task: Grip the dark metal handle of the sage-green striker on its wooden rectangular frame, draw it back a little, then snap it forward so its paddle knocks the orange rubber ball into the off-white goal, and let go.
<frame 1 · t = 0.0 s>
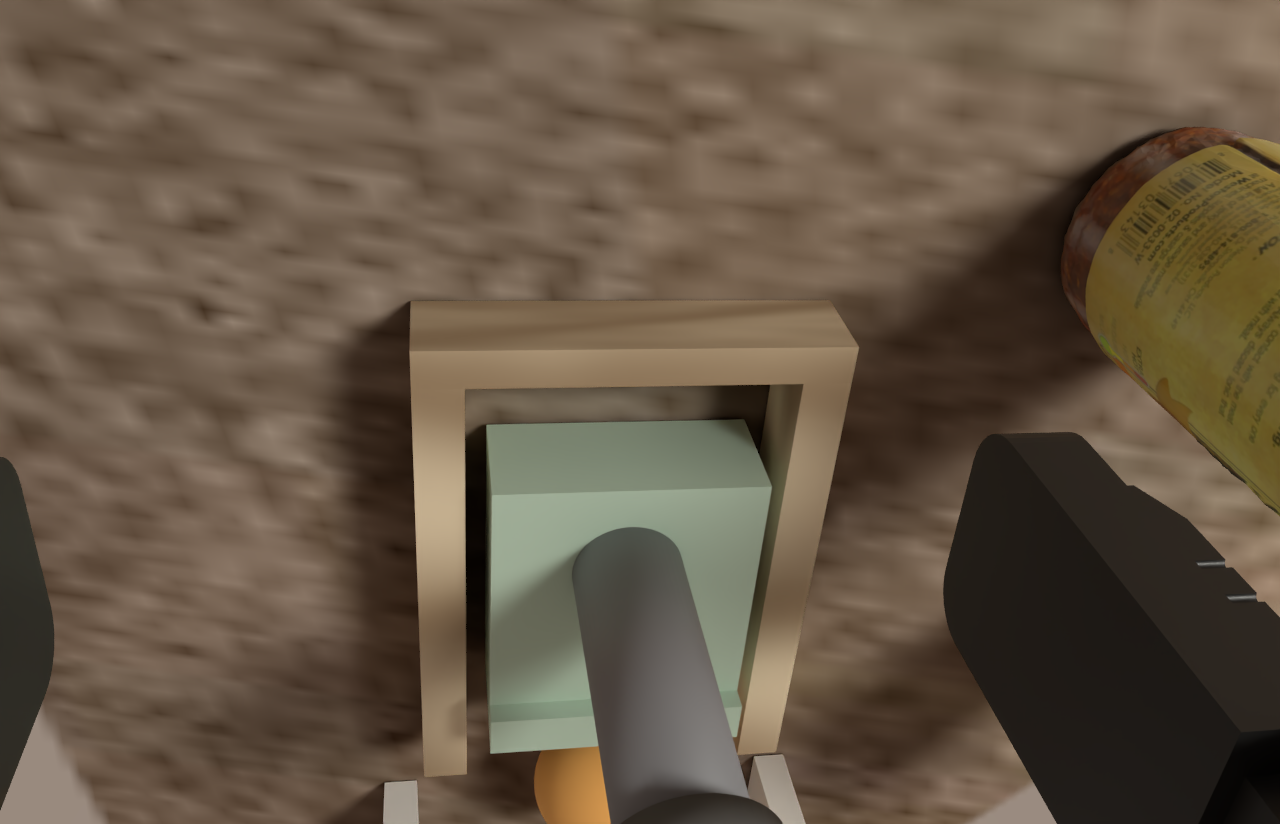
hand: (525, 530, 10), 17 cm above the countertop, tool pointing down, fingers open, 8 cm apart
wooden rectangular frame: (607, 539, 32), on the countertop
ball: (600, 780, 35), point 2 cm above the countertop
striker: (642, 715, 27), point 6 cm above the countertop, slide at 0.0 cm
sauce bottle: (1166, 226, 30), on the countertop
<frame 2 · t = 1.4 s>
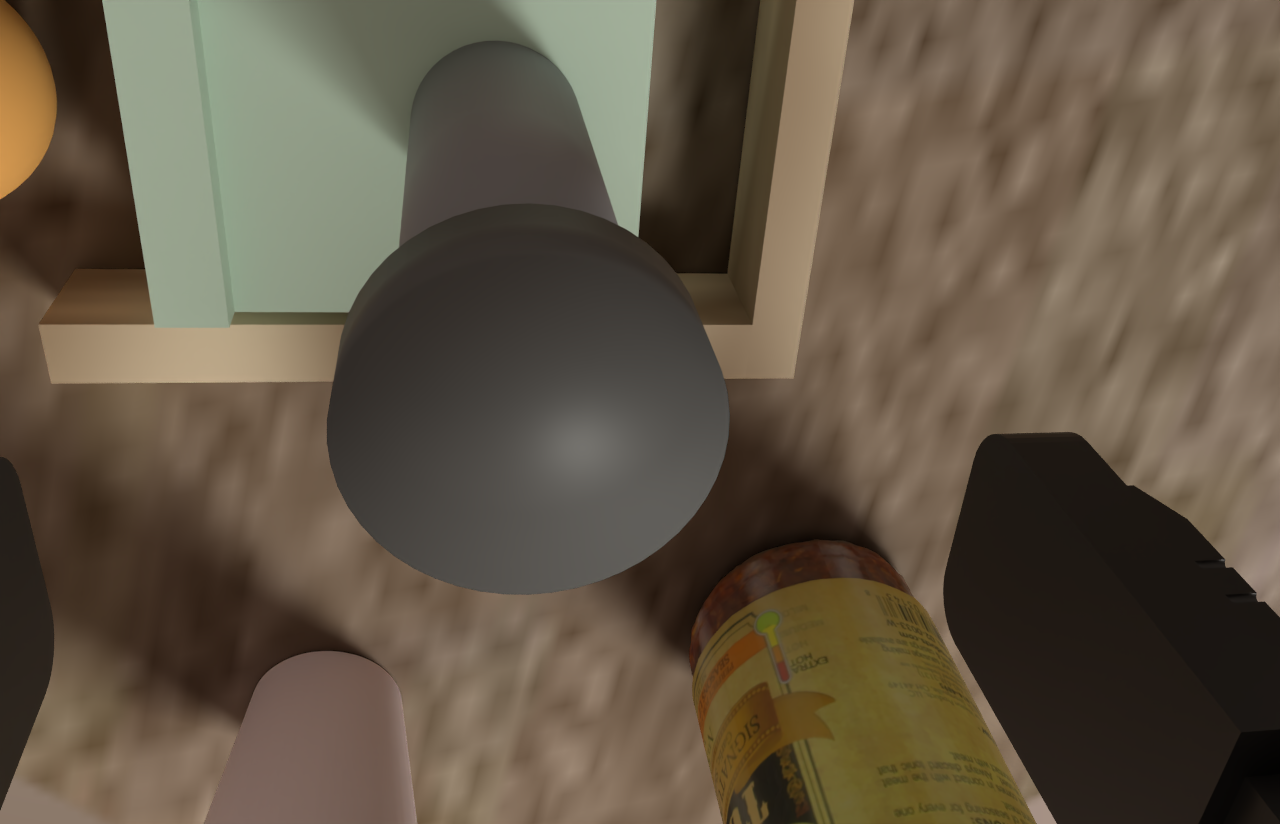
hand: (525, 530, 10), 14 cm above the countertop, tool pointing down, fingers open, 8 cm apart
wooden rectangular frame: (409, 73, 21), on the countertop
striker: (389, 197, 16), point 6 cm above the countertop, slide at 0.0 cm
sauce bottle: (795, 621, 30), on the countertop
smoothie: (328, 699, 29), on the countertop
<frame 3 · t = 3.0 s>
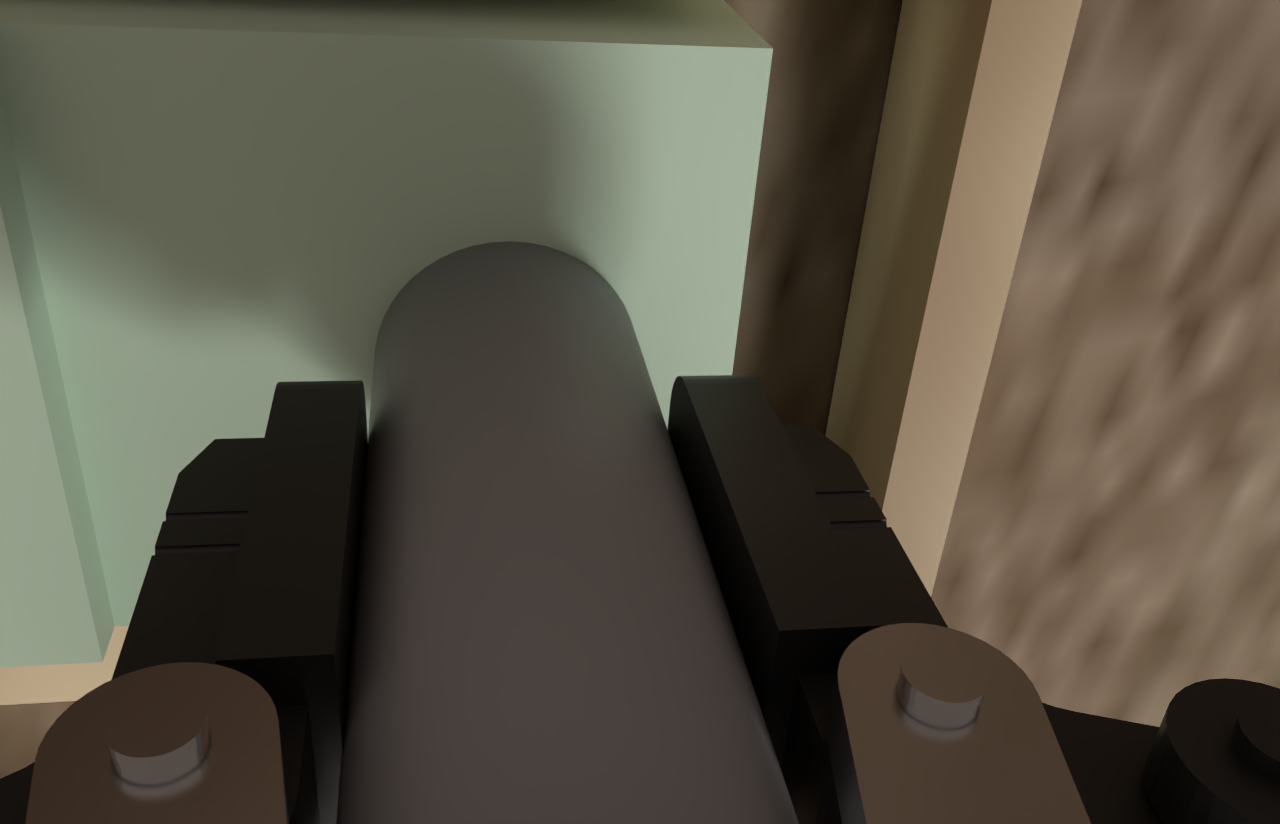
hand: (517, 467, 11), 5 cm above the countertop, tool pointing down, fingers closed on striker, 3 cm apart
wooden rectangular frame: (373, 248, 15), on the countertop
striker: (333, 559, 9), point 6 cm above the countertop, slide at 0.0 cm, touching gripper
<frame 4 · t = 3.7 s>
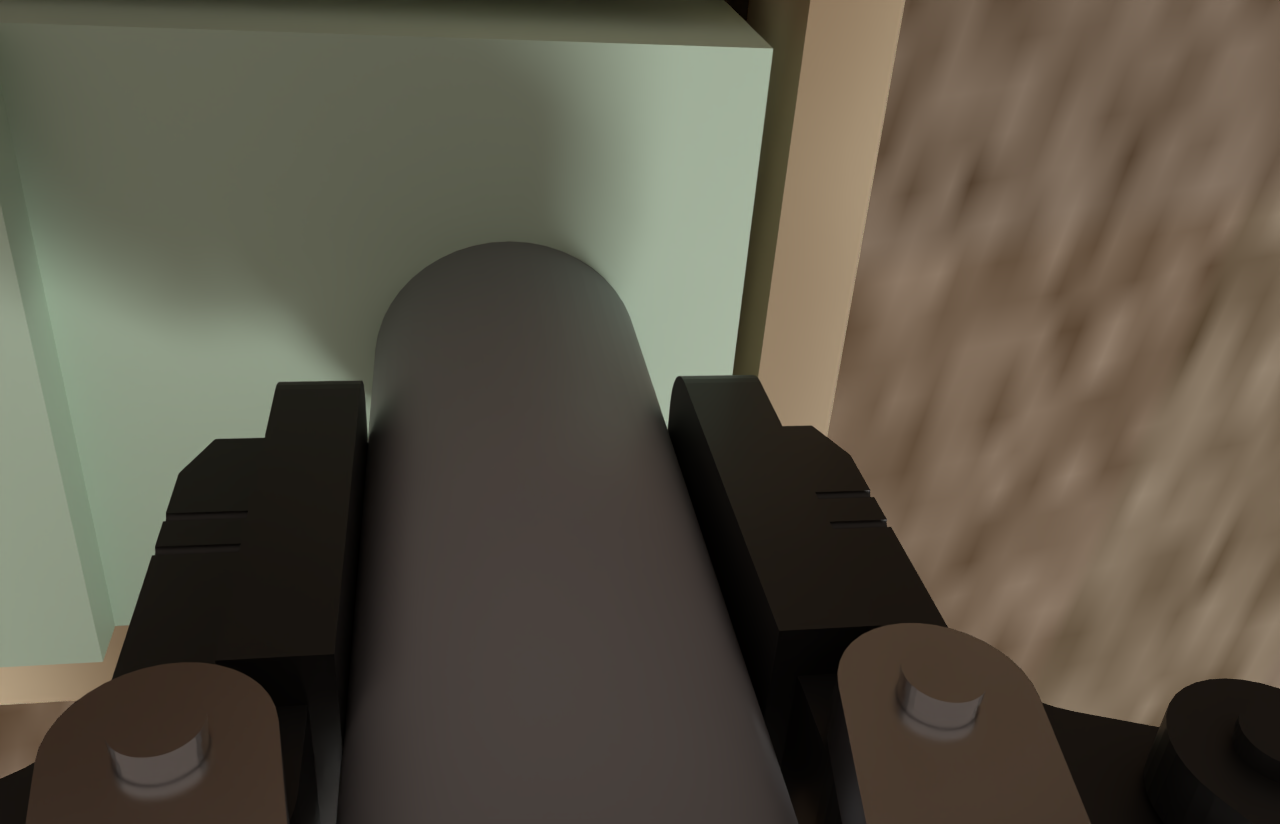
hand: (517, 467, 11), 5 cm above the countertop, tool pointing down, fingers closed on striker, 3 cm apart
wooden rectangular frame: (214, 248, 14), on the countertop
striker: (333, 559, 9), point 6 cm above the countertop, slide at -2.0 cm, touching gripper
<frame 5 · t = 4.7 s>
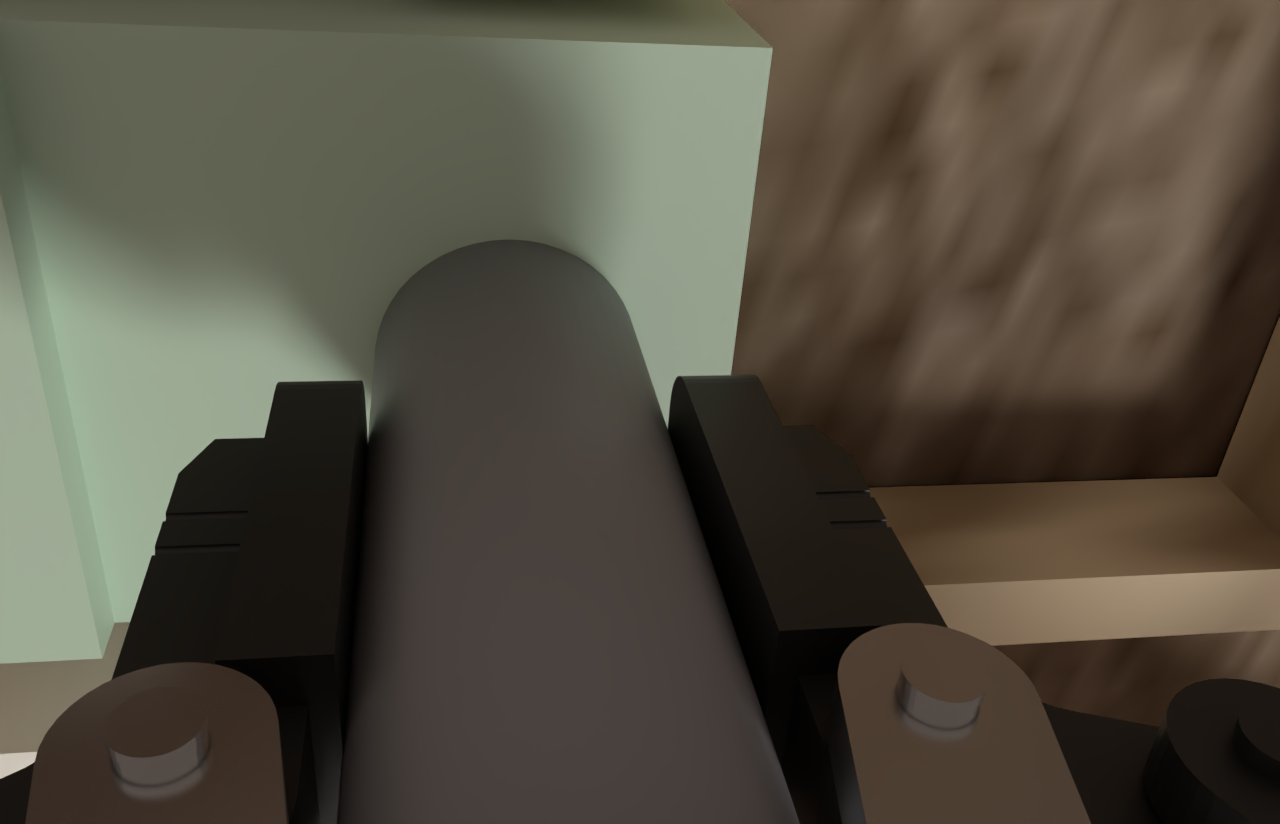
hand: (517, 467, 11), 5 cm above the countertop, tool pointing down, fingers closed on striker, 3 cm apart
wooden rectangular frame: (888, 250, 16), on the countertop
striker: (334, 555, 9), point 6 cm above the countertop, slide at 6.9 cm, touching gripper
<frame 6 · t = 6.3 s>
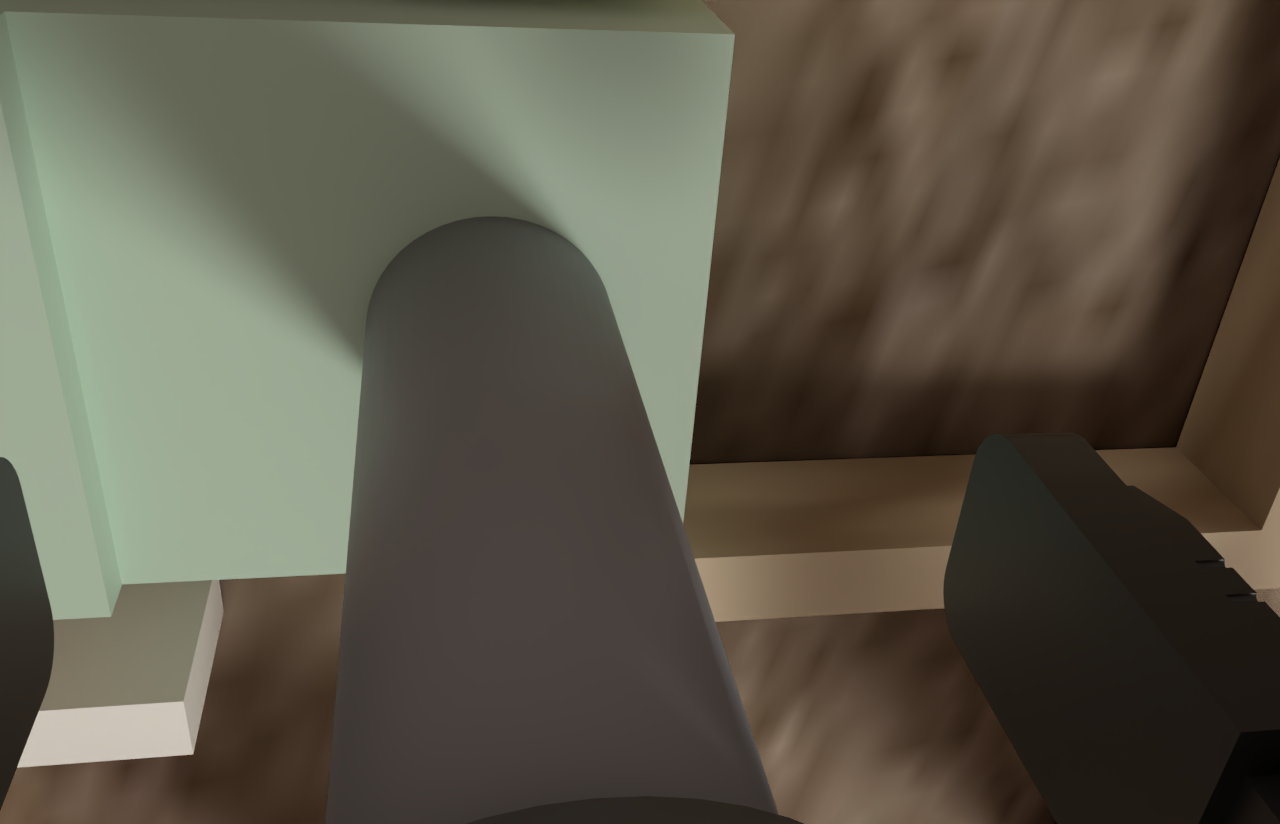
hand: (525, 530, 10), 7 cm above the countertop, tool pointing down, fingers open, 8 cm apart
wooden rectangular frame: (855, 229, 17), on the countertop
striker: (329, 503, 10), point 6 cm above the countertop, slide at 6.9 cm
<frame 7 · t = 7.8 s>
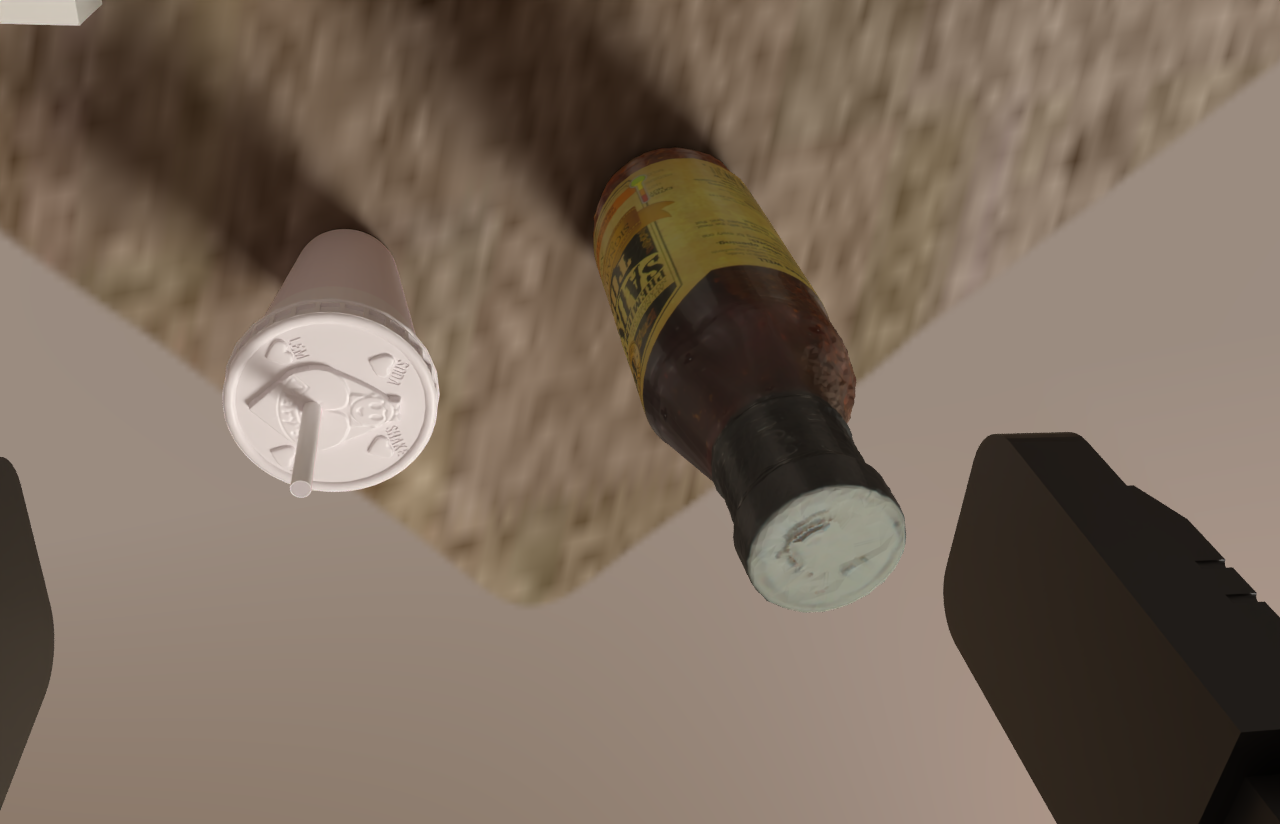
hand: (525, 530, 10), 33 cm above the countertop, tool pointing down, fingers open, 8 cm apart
sauce bottle: (667, 222, 44), on the countertop
smoothie: (347, 273, 43), on the countertop
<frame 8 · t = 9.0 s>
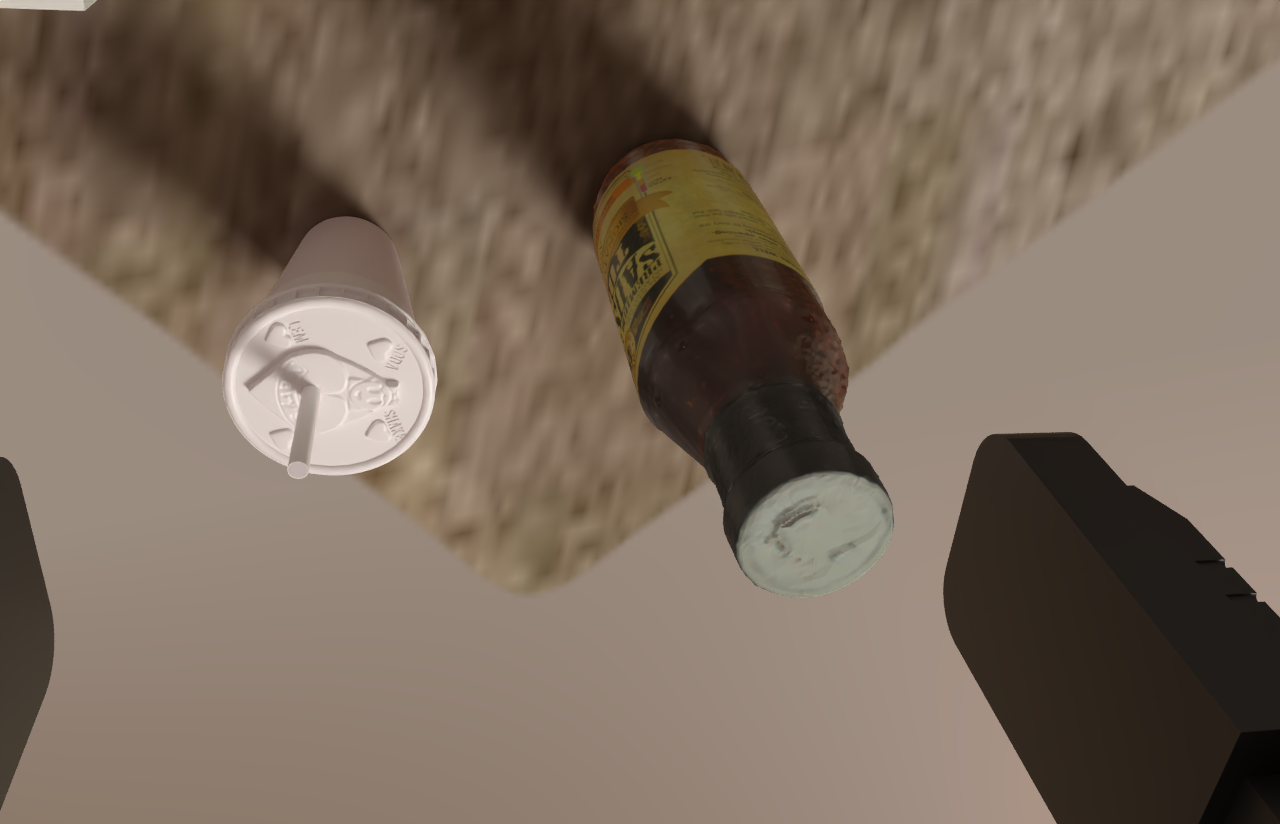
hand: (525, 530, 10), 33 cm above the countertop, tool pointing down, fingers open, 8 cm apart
sauce bottle: (667, 212, 44), on the countertop
smoothie: (349, 260, 43), on the countertop
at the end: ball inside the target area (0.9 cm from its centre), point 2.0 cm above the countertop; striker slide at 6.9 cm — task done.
